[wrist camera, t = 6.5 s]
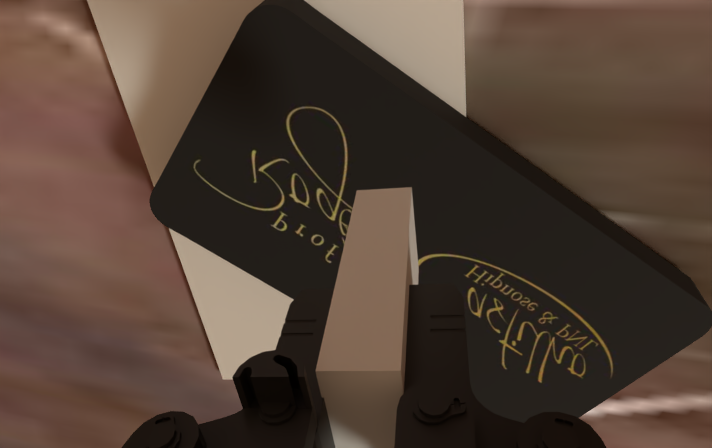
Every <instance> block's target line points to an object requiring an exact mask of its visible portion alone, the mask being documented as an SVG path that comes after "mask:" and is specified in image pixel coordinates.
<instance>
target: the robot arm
mask: <svg viewBox="0 0 712 448" xmlns="http://www.w3.org/2000/svg"><path fill="white" fill-rule="evenodd" d="M418 273H419V267H418V255H417V244H416V232H415V221H414V209H413V197H412V187H406V188H389V189H372V190H357V192H356V196H355V201H354V205H353V209H352V214H351V218H350V222H349V227H348V231H347V235H346V240H345V244H344V249H343V253H342V257H341V262H340V266H339V270H338V275H337V279H336V284H335V288H334V289H303V290H302V291H301V292H300V294H299V295H298V296H297V297H296V298H295V299H294V300H293V301H292V302H291V304H290V306H289V309H288V312H287V315H286V318H285V323H284V325H283V328H282V331H281V337H279V340H278V343H277V346H276V349H275V350H272V351H265V352H261V353H259V354H257V355H255V356H252V357H250V358H249V359H248V360H246V361H245V362H244V363H243V364H241V365H240V366H239V367H238V369H237V370H236V372H235V374H234V375H233V377H232V378H233V381H234V383H235V386H236V389H237V392H238V395H239V398H240V401H241V404H242V407H243V409H242V410H241V411H239V412H237V413H235V414H233V415H230V416H227V417H224V418H221V419H217V420H214V421H210V422H206V423H203V424H199V425H198V424H197V422H196V420H195V419H194V417H193V416H191V415H189V414H187V413H185V412H175V411H170V412H167V413H163V414H159V415H157V416H155V417H153V418H151V419H150V420H148V421H146V422H144V423H143V424H142V425H141V426H140V427H139V428H138V429H137V430H136V431H135V432H134V433H133V434H132V435H131V436H130V438H129V439H128V440H127V441H126V443H125V444H124V445H123V447H122V448H606V446H605V444H604V443H603V441H602V439H601V438H600V436H599V435H598V434H597V433H596V432H595V431H594V430H593V428H592V427H591V426H590V425H589V424H587V423H585V422H584V421H582V420H580V419H579V418H577V417H576V416H572V415H569V414H565V413H561V412H542V413H540V414H537V415H535V416H532V417H530V418H529V419H528V420H527V421H526V422H525V423H522V422H518V421H515V420H512V419H508V418H505V417H502V416H500V415H497V414H495V413H493V412H491V411H490V410H488V409H487V408H485V407H484V406H483V405H482V404H481V403H480V402H479V401H478V400H477V399H476V397H475V395H474V394H473V392H472V389H471V385H470V376H469V363H468V350H467V337H466V324H465V311H464V298H463V296H462V295H461V294H460V292H459V291H458V289H457V288H456V287H455V285H454V284H453V283H450V284H418Z"/></svg>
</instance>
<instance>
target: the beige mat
mask: <svg viewBox="0 0 712 448" xmlns="http://www.w3.org/2000/svg"><path fill="white" fill-rule="evenodd" d="M263 1H264V0H87V2H88V4H89V7H90V10H91V13H92V16H93V18H94V21H95V24H96V27H97V30H98V32H99V35H100V38H101V41H102V43H103V46H104V49H105V52H106V55H107V57H108V60H109V63H110V66H111V69H112V71H113V74H114V77H115V80H116V82H117V85H118V88H119V91H120V94H121V96H122V99H123V102H124V105H125V108H126V110H127V113H128V116H129V119H130V121H131V124H132V127H133V130H134V133H135V135H136V138H137V141H138V144H139V147H140V149H141V152H142V155H143V158H144V160H145V163H146V166H147V169H148V172H149V174H150V177H151V180H152V183H153V186H154V187H155V185H156V183H157V181H158V180H159V178H160V176H161V174H162V172H163V170H164V168H165V167H166V165H167V163H168V161H169V159H170V157H171V155H172V153H173V152H174V150H175V148H176V146H177V144H178V142H179V140H180V138H181V137H182V135H183V133H184V131H185V129H186V127H187V125H188V123H189V122H190V120H191V118H192V116H193V114H194V112H195V110H196V108H197V107H198V105H199V103H200V101H201V99H202V97H203V95H204V93H205V92H206V90H207V88H208V86H209V84H210V82H211V80H212V79H213V77H214V75H215V73H216V71H217V69H218V67H219V65H220V64H221V62H222V60H223V58H224V56H225V54H226V52H227V50H228V49H229V47H230V45H231V43H232V41H233V39H234V37H235V35H236V33H237V32H238V30H239V28H240V26H241V24H242V22H243V20H244V19H245V17H246V16H247V15H248V13H250V12H251V11H252V10H253V9H254V8H256V7H257V6H258V5H259V4H261V3H262V2H263ZM304 1H306V2H307V3H308V4H310V5H311V6H312V7H314V8H315V9H316V10H318V11H319V12H320V13H322V14H323V15H325V16H326V17H327V18H329V19H330V20H332V21H333V22H334V23H336V24H337V25H338V26H340V27H341V28H343V29H344V30H345V31H347V32H348V33H350V34H351V35H352V36H354V37H355V38H357V39H358V40H359V41H361V42H362V43H364V44H365V45H366V46H368V47H369V48H371V49H372V50H373V51H375V52H376V53H377V54H379V55H380V56H382V57H383V58H384V59H386V60H387V61H389V62H390V63H391V64H393V65H394V66H396V67H397V68H398V69H400V70H401V71H403V72H404V73H405V74H407V75H408V76H410V77H411V78H412V79H414V80H415V81H416V82H418V83H419V84H421V85H422V86H423V87H425V88H426V89H428V90H429V91H430V92H432V93H433V94H435V95H436V96H437V97H439V98H440V99H442V100H443V101H444V102H446V103H447V104H449V105H450V106H451V107H453V108H454V109H455V110H457V111H458V112H460V113H461V114H462V115H464V116H465V117H466V87H465V50H464V13H463V0H304ZM169 230H170V233H171V236H172V239H173V241H174V244H175V247H176V250H177V252H178V255H179V258H180V261H181V264H182V266H183V269H184V272H185V275H186V278H187V280H188V283H189V286H190V289H191V291H192V294H193V297H194V300H195V303H196V305H197V308H198V311H199V314H200V317H201V319H202V322H203V325H204V328H205V330H206V333H207V336H208V339H209V342H210V344H211V347H212V350H213V353H214V356H215V358H216V361H217V364H218V367H219V370H220V372H221V375H222V378H223V379H233V378H232V377H233V375H234V374H235V372H236V370H237V369H238V367H239V366H240V365H241V364H243V363H244V362H245V361H246V360H248V359H249V358H250V357H252V356H255V355H257V354H259V353H261V352H265V351H272V350H275V349H276V346H277V343H278V340H279V337H281V331H282V328H283V325H284V323H285V318H286V315H287V312H288V309H289V306H290V304H291V302H292V301H293V299H292V298H290V297H288V296H287V295H285V294H283V293H281V292H280V291H278V290H276V289H274V288H273V287H271V286H269V285H267V284H266V283H264V282H262V281H261V280H259V279H257V278H255V277H254V276H252V275H250V274H248V273H247V272H245V271H243V270H241V269H240V268H238V267H236V266H234V265H233V264H231V263H229V262H228V261H226V260H224V259H222V258H221V257H219V256H217V255H215V254H214V253H212V252H210V251H208V250H207V249H205V248H203V247H201V246H200V245H198V244H196V243H195V242H193V241H191V240H189V239H188V238H186V237H184V236H182V235H180V234H179V233H177V232H175V231H173V230H172V229H170V228H169Z"/></svg>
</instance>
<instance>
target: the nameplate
mask: <svg viewBox="0 0 712 448" xmlns="http://www.w3.org/2000/svg"><path fill="white" fill-rule="evenodd" d="M406 187H412V197H413V209H414V221H415V232H416V244H417V255H418V267H419V273H418V284H450V283H453V284H454V285H455V287H456V288H457V289H458V291H459V292H460V294H461V295H462V296H463V298H464V311H465V324H466V337H467V350H468V363H469V376H470V385H471V389H472V392H473V394H474V395H475V397H476V399H477V400H478V401H479V402H480V403H481V404H482V405H483V406H484V407H485V408H487V409H488V410H490V411H491V412H493V413H495V414H497V415H500V416H502V417H505V418H508V419H512V420H515V421H518V422H522V423H525V422H526V421H527V420H528V419H529V418H530V417H532V416H535V415H537V414H540V413H542V412H561V413H565V414H569V415H572V416H576V417H577V418H579V417H580V416H582V415H584V414H585V413H587V412H588V411H590V410H591V409H593V408H594V407H596V406H597V405H599V404H600V403H602V402H603V401H605V400H606V399H608V398H609V397H611V396H612V395H614V394H615V393H617V392H618V391H620V390H621V389H623V388H625V387H626V386H628V385H629V384H631V383H632V382H634V381H635V380H637V379H638V378H640V377H641V376H643V375H644V374H646V373H647V372H649V371H650V370H652V369H653V368H655V367H656V366H658V365H659V364H661V363H662V362H664V361H666V360H667V359H669V358H670V357H672V356H673V355H675V354H676V353H678V352H679V351H681V350H682V349H684V348H685V347H687V346H688V345H690V344H691V343H693V342H694V341H696V340H697V339H699V338H700V337H702V336H703V335H704V334H706V333H707V332H708V331H709V329H710V328H711V326H712V311H711V309H710V308H709V306H708V305H707V303H706V301H705V300H704V298H703V297H702V295H701V294H700V292H699V290H698V289H697V287H696V286H695V284H694V283H693V281H692V280H691V278H690V277H688V276H687V275H685V274H684V273H682V272H681V271H680V270H678V269H677V268H676V267H674V266H673V265H671V264H670V263H669V262H667V261H666V260H664V259H663V258H662V257H660V256H659V255H657V254H656V253H655V252H653V251H652V250H650V249H649V248H648V247H646V246H645V245H643V244H642V243H641V242H639V241H638V240H637V239H635V238H634V237H632V236H631V235H630V234H628V233H627V232H625V231H624V230H623V229H621V228H620V227H618V226H617V225H616V224H614V223H613V222H611V221H610V220H609V219H607V218H606V217H605V216H603V215H602V214H600V213H599V212H598V211H596V210H595V209H593V208H592V207H591V206H589V205H588V204H586V203H585V202H584V201H582V200H581V199H579V198H578V197H577V196H575V195H574V194H572V193H571V192H570V191H568V190H567V189H566V188H564V187H563V186H561V185H560V184H559V183H557V182H556V181H554V180H553V179H552V178H550V177H549V176H547V175H546V174H545V173H543V172H542V171H540V170H539V169H538V168H536V167H535V166H533V165H532V164H531V163H529V162H528V161H527V160H525V159H524V158H522V157H521V156H520V155H518V154H517V153H515V152H514V151H513V150H511V149H510V148H508V147H507V146H506V145H504V144H503V143H501V142H500V141H499V140H497V139H496V138H494V137H493V136H492V135H490V134H489V133H488V132H486V131H485V130H483V129H482V128H481V127H479V126H478V125H476V124H475V123H474V122H472V121H471V120H469V119H468V118H467V117H465V116H464V115H462V114H461V113H460V112H458V111H457V110H455V109H454V108H453V107H451V106H450V105H449V104H447V103H446V102H444V101H443V100H442V99H440V98H439V97H437V96H436V95H435V94H433V93H432V92H430V91H429V90H428V89H426V88H425V87H423V86H422V85H421V84H419V83H418V82H416V81H415V80H414V79H412V78H411V77H410V76H408V75H407V74H405V73H404V72H403V71H401V70H400V69H398V68H397V67H396V66H394V65H393V64H391V63H390V62H389V61H387V60H386V59H384V58H383V57H382V56H380V55H379V54H377V53H376V52H375V51H373V50H372V49H371V48H369V47H368V46H366V45H365V44H364V43H362V42H361V41H359V40H358V39H357V38H355V37H354V36H352V35H351V34H350V33H348V32H347V31H345V30H344V29H343V28H341V27H340V26H338V25H337V24H336V23H334V22H333V21H332V20H330V19H329V18H327V17H326V16H325V15H323V14H322V13H320V12H319V11H318V10H316V9H315V8H314V7H312V6H311V5H310V4H308V3H307V2H306V1H304V0H264V1H263V2H262V3H261V4H259V5H258V6H257V7H256V8H254V9H253V10H252V11H251V12H250V13H248V15H247V16H246V17H245V19H244V20H243V22H242V24H241V26H240V28H239V30H238V32H237V33H236V35H235V37H234V39H233V41H232V43H231V45H230V47H229V49H228V50H227V52H226V54H225V56H224V58H223V60H222V62H221V64H220V65H219V67H218V69H217V71H216V73H215V75H214V77H213V79H212V80H211V82H210V84H209V86H208V88H207V90H206V92H205V93H204V95H203V97H202V99H201V101H200V103H199V105H198V107H197V108H196V110H195V112H194V114H193V116H192V118H191V120H190V122H189V123H188V125H187V127H186V129H185V131H184V133H183V135H182V137H181V138H180V140H179V142H178V144H177V146H176V148H175V150H174V152H173V153H172V155H171V157H170V159H169V161H168V163H167V165H166V167H165V168H164V170H163V172H162V174H161V176H160V178H159V180H158V181H157V183H156V185H155V187H154V189H153V191H152V193H151V196H150V207H151V210H152V212H153V214H154V215H155V217H156V218H157V219H158V220H159V221H160V222H161V223H162V224H164V225H165V226H167V227H168V228H170V229H172V230H173V231H175V232H177V233H179V234H180V235H182V236H184V237H186V238H188V239H189V240H191V241H193V242H195V243H196V244H198V245H200V246H201V247H203V248H205V249H207V250H208V251H210V252H212V253H214V254H215V255H217V256H219V257H221V258H222V259H224V260H226V261H228V262H229V263H231V264H233V265H234V266H236V267H238V268H240V269H241V270H243V271H245V272H247V273H248V274H250V275H252V276H254V277H255V278H257V279H259V280H261V281H262V282H264V283H266V284H267V285H269V286H271V287H273V288H274V289H276V290H278V291H280V292H281V293H283V294H285V295H287V296H288V297H290V298H292V299H293V300H294V299H295V298H296V297H297V296H298V295H299V294H300V292H301V291H302V290H303V289H334V288H335V284H336V279H337V275H338V270H339V266H340V262H341V257H342V253H343V249H344V244H345V240H346V235H347V231H348V227H349V222H350V218H351V214H352V209H353V205H354V201H355V196H356V192H357V190H372V189H389V188H406Z"/></svg>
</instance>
